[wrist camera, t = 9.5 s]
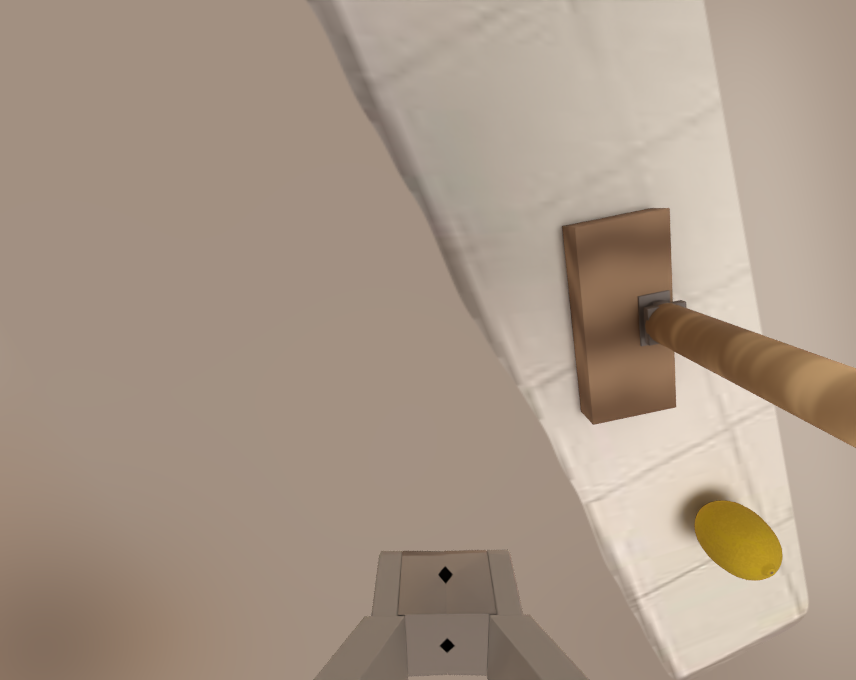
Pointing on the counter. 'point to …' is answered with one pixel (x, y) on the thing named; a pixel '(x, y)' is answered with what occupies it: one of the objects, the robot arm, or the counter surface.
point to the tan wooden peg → (761, 366)
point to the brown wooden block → (620, 312)
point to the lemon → (738, 540)
